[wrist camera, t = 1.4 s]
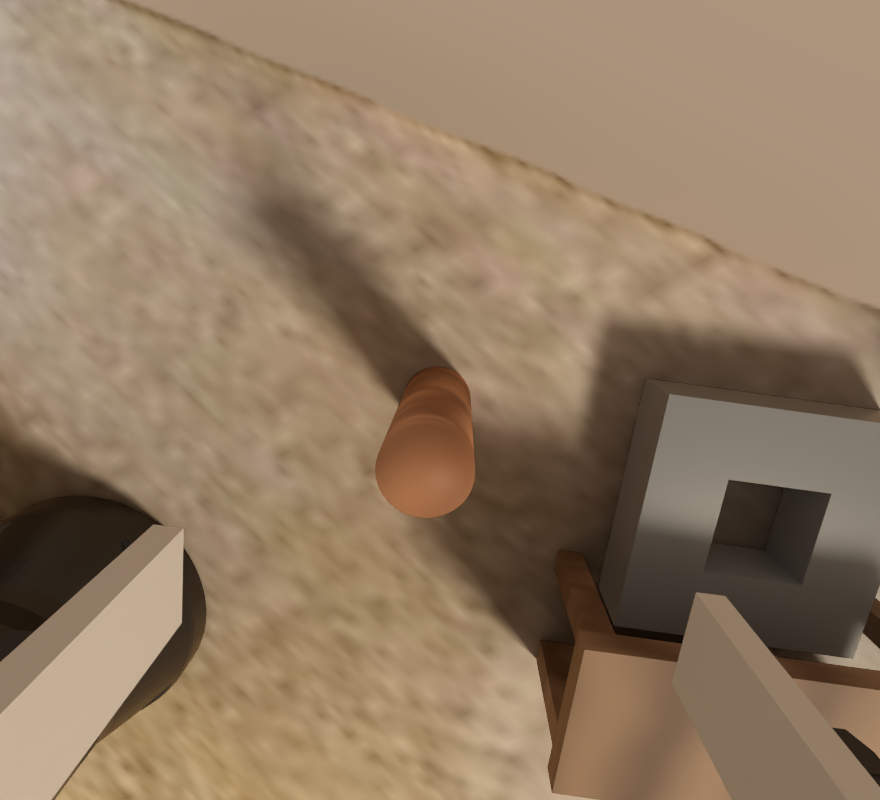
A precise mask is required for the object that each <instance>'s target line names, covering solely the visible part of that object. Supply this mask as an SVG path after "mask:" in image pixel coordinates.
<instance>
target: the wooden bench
mask: <svg viewBox="0 0 880 800" xmlns="http://www.w3.org/2000/svg"><path fill="white" fill-rule="evenodd" d="M555 574H556V577H557V581H558V584H559V587H560V591H561V594H562V598H563V601H564V604H565V608H566V611H567V614H568V618H569V621H570V624H571V628H572V631H573V634H574V638H575V641H576V642H575V645H570V644H563V643H556V642H549V641H541V640H540V644H539V649H538V654H537V659H536V660H537V665H538V670H539V676H540V681H541V686H542V692H543V697H544V702H545V707H546V713H547V718H548V723H549V729H550V734H551V739H552V750H551V755H550V759H549V764H548V772H549V778H550V784H551V790H552V793H556V794H563V795H571V796H578V797H585V798H592V799H599V800H732V799H731V797H730V795H729V793H728V791H727V789H726V787H725V785H724V783H723V782H722V780H721V778H720V776H719V774H718V772H717V770H716V768H715V766H714V764H713V762H712V760H711V758H710V756H709V754H708V753H707V751H706V749H705V747H704V745H703V743H702V741H701V739H700V737H699V735H698V733H697V731H696V729H695V727H694V725H693V723H692V722H691V720H690V718H689V716H688V714H687V712H686V710H685V708H684V706H683V704H682V702H681V700H680V698H679V696H678V694H677V693H676V691H675V689H674V687H673V685H672V680H673V676H674V672H675V669H676V665H677V661H678V657H679V654H680V650H681V646H682V644H680V643H673V642H666V641H659V640H651V639H644V638H637V637H630V636H622V635H615V633H614V630H613V628H612V625H611V623H610V620H609V618H608V616H607V613H606V611H605V608H604V606H603V603H602V601H601V598H600V596H599V594H598V591H597V589H596V586H595V584H594V581H593V579H592V576H591V574H590V572H589V569H588V567H587V564H586V562H585V559H584V557H583V554H582V553H577V552H570V551H563V550H559V551H558V556H557V561H556V566H555ZM863 633H864V634H865V635H866V636H867V637H868V638H869V639H870V640H871V641H872V642H873V643H874V644H875V645H876V646H877V647H879V648H880V602H879V601H878V600H877V599H876V598H875V599H874V602H873V605H872V607H871V610H870V613H869V616H868V618H867V621H866V624H865V627H864V629H863ZM774 657H775V656H774ZM775 658H776V659H777V660H778V662H779V663H780V664H781V665H782V667H783V668H784V669H785V670H786V672H787V673H788V674H789V675H790V677H791V678H792V679H793V680H794V681H795V683H796V684H797V685H798V686H799V688H800V689H801V690H802V691H803V693H804V694H805V695H806V696H807V698H808V699H809V700H810V701H811V703H812V704H813V705H814V706H815V707H816V709H817V710H818V711H819V712H820V714H821V715H822V716H823V717H824V719H825V720H826V721H827V722H828V724H829V725H830V726H831V727H832V728H840V729H846V730H847V731H848V732H850V733H851V734H852V735H853V736H855V737H856V738H857V739H858V740H860V741H861V742H862V743H863V744H865V745H866V746H867V747H868V748H870V749H871V750H872V751H873V752H874V753H875V754H876V755H877V756H878V757H879V758H880V671H876V670H869V669H862V668H854V667H847V666H840V665H833V664H825V663H818V662H811V661H804V660H796V659H789V658H782V657H775Z"/></svg>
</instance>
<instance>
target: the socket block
mask: <svg viewBox="0 0 880 800" xmlns="http://www.w3.org/2000/svg"><path fill="white" fill-rule="evenodd" d="M729 480H735V481H742V482H750V483H757V484H764V485H771V486H779V487H784V490H783V493H782V496H781V500H780V503H779V506H778V510H777V513H776V516H775V519H774V523H773V526H772V529H771V533H770V536H769V539H768V543H767V546H766V549H765V550H762V549H755V548H748V547H740V546H733V545H726V544H718V543H711V542H712V539H713V535H714V531H715V528H716V524H717V521H718V517H719V513H720V510H721V506H722V502H723V499H724V495H725V492H726V488H727V484H728V481H729ZM879 585H880V410H873V409H866V408H858V407H851V406H844V405H836V404H829V403H822V402H815V401H807V400H800V399H793V398H785V397H778V396H771V395H763V394H756V393H749V392H742V391H734V390H727V389H720V388H712V387H705V386H698V385H691V384H683V383H676V382H669V381H661V380H654V379H647V378H645V383H644V387H643V392H642V396H641V400H640V405H639V409H638V414H637V418H636V423H635V427H634V431H633V436H632V440H631V445H630V449H629V453H628V458H627V462H626V467H625V471H624V475H623V480H622V484H621V489H620V493H619V498H618V502H617V506H616V511H615V515H614V520H613V524H612V528H611V533H610V537H609V542H608V546H607V551H606V555H605V559H604V564H603V568H602V573H601V577H600V581H599V586H598V588H599V590H600V593H601V595H602V598H603V600H604V603H605V605H606V607H607V610H608V612H609V615H610V617H611V619H612V622H613V624H614V626H619V627H626V628H634V629H641V630H648V631H655V632H663V633H670V634H677V635H685V631H686V627H687V624H688V620H689V616H690V612H691V609H692V605H693V601H694V598H695V594H696V592H698V593H706V594H714V595H722V596H726V597H727V599H728V600H729V601H730V602H731V603H732V605H733V606H734V607H735V608H736V610H737V611H738V612H739V613H740V615H741V616H742V617H743V618H744V620H745V621H746V622H747V623H748V625H749V626H750V627H751V628H752V629H753V631H754V632H755V633H756V634H757V636H758V637H759V638H760V639H761V641H762V642H763V643H764V644H765V646H766V647H771V648H779V649H786V650H793V651H800V652H808V653H815V654H822V655H829V656H837V657H844V658H851V659H853V657H854V654H855V651H856V649H857V646H858V643H859V640H860V638H861V635H862V632H863V629H864V627H865V624H866V621H867V618H868V616H869V613H870V610H871V607H872V605H873V602H874V599H875V596H876V594H877V591H878V588H879Z"/></svg>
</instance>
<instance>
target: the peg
mask: <svg viewBox="0 0 880 800" xmlns="http://www.w3.org/2000/svg"><path fill="white" fill-rule="evenodd" d="M375 472H376V479H377V483H378V486H379V489H380V491H381V492H382V494H383V496H384V497H385V498H386V500H387V501H388V502H389V503H390V504H391V505H392V506H394V507H395V508H396V509H398V510H399V511H401V512H403V513H405V514H408V515H411V516H414V517H420V518H433V517H439V516H442V515H445V514H447V513H450V512H451V511H453V510H455V509H456V508H457V507H459V506H460V505H461V504H462V503H463V502H464V501H465V500H466V498H467V497H468V495H469V494H470V492H471V490H472V487H473V484H474V480H475V459H474V444H473V429H472V414H471V399H470V392H469V389H468V386H467V384H466V382H465V381H464V380H463V378H462V377H461V376H460V375H458V374H457V373H456V372H454V371H452V370H450V369H447V368H444V367H430V368H427V369H424V370H422V371H420V372H418V373H417V374H416V375H415V376H413V378H412V379H411V380H410V381H409V383H408V385H407V387H406V389H405V392H404V394H403V396H402V399H401V401H400V404H399V406H398V408H397V411H396V413H395V416H394V418H393V420H392V423H391V425H390V427H389V430H388V432H387V435H386V437H385V439H384V442H383V444H382V447H381V449H380V451H379V454H378V457H377V461H376V469H375Z"/></svg>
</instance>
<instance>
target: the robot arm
mask: <svg viewBox="0 0 880 800" xmlns="http://www.w3.org/2000/svg"><path fill="white" fill-rule="evenodd" d="M183 538H184V528H177V527H169V526H161V525H158V524H157V523H155V522H154V521H152V520H151V519H149V518H148V517H146V516H145V515H143V514H141V513H139V512H137V511H135V510H133V509H131V508H129V507H126V506H124V505H121V504H119V503H115V502H112V501H109V500H104V499H100V498H94V497H85V496H68V497H59V498H53V499H49V500H45V501H42V502H39V503H36V504H34V505H32V506H30V507H28V508H26V509H24V510H22V511H21V512H19V513H17V514H15V515H14V516H12V517H10V518H9V519H7V520H5V521H3V522H2V523H0V800H55V799H56V797H57V796H58V794H59V793H60V792H61V790H62V789H63V788H64V786H65V785H66V783H67V782H68V781H69V779H70V778H71V777H72V775H73V774H74V773H75V771H76V770H77V768H78V767H79V766H80V764H81V763H82V762H83V760H84V759H85V758H86V757H87V755H88V754H89V752H90V751H91V750H92V749H93V747H94V746H95V745H96V744H97V743H98V742H100V741H101V740H102V739H104V738H105V737H106V736H107V735H109V734H110V733H111V732H113V731H114V730H115V729H117V728H118V727H119V726H121V725H122V724H123V723H124V722H126V721H127V720H128V719H130V718H131V717H132V716H133V715H135V714H136V713H137V712H139V711H140V710H142V709H144V708H145V707H147V706H148V705H150V704H151V703H153V702H154V701H156V700H157V699H159V698H160V697H161V696H162V695H164V694H165V693H166V692H167V691H168V690H169V689H170V688H171V687H172V686H173V684H174V683H175V682H176V681H177V680H178V678H179V677H180V675H181V674H182V673H183V671H184V670H185V668H186V667H187V665H188V664H189V662H190V661H191V659H192V658H193V656H194V655H195V653H196V651H197V649H198V647H199V645H200V643H201V640H202V637H203V633H204V629H205V623H206V602H205V596H204V591H203V587H202V584H201V581H200V578H199V576H198V574H197V571H196V569H195V567H194V565H193V563H192V562H191V560H190V559H189V557H188V555H187V554H186V553H185V551H184V550H183ZM672 685H673V687H674V689H675V691H676V693H677V694H678V696H679V698H680V700H681V702H682V704H683V706H684V708H685V710H686V712H687V714H688V716H689V718H690V720H691V722H692V723H693V725H694V727H695V729H696V731H697V733H698V735H699V737H700V739H701V741H702V743H703V745H704V747H705V749H706V751H707V753H708V754H709V756H710V758H711V760H712V762H713V764H714V766H715V768H716V770H717V772H718V774H719V776H720V778H721V780H722V782H723V783H724V785H725V787H726V789H727V791H728V793H729V795H730V797H731V799H732V800H880V758H879V757H878V756H877V755H876V754H875V753H874V752H873V751H872V750H871V749H870V748H868V747H867V746H866V745H865V744H863V743H862V742H861V741H860V740H858V739H857V738H856V737H855V736H853V735H852V734H851V733H850V732H848V731H847V730H846V729H840V728H832V727H831V726H830V725H829V724H828V722H827V721H826V720H825V719H824V717H823V716H822V715H821V714H820V712H819V711H818V710H817V709H816V707H815V706H814V705H813V704H812V703H811V701H810V700H809V699H808V698H807V696H806V695H805V694H804V693H803V691H802V690H801V689H800V688H799V686H798V685H797V684H796V683H795V681H794V680H793V679H792V678H791V677H790V675H789V674H788V673H787V672H786V670H785V669H784V668H783V667H782V665H781V664H780V663H779V662H778V660H777V659H776V658H775V657H774V655H773V654H772V653H771V652H770V651H769V649H768V648H767V647H766V646H765V644H764V643H763V642H762V641H761V639H760V638H759V637H758V636H757V634H756V633H755V632H754V631H753V629H752V628H751V627H750V626H749V625H748V623H747V622H746V621H745V620H744V618H743V617H742V616H741V615H740V613H739V612H738V611H737V610H736V608H735V607H734V606H733V605H732V603H731V602H730V601H729V600H728V599H727V597H726V596H722V595H714V594H706V593H698V592H696V594H695V598H694V601H693V605H692V609H691V612H690V616H689V620H688V624H687V627H686V631H685V635H684V639H683V642H682V646H681V650H680V654H679V657H678V661H677V665H676V669H675V672H674V676H673V680H672Z"/></svg>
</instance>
